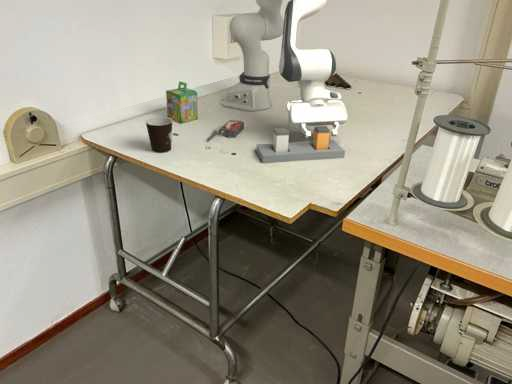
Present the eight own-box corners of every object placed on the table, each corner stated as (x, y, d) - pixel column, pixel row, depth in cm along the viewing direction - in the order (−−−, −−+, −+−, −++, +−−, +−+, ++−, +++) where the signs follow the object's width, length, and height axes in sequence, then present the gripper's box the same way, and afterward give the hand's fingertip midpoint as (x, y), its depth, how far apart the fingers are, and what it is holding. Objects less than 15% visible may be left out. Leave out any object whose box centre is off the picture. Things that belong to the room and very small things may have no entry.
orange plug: (315, 155, 139) (318, 130, 135) (312, 151, 142) (314, 126, 138) (327, 155, 140) (330, 130, 135) (323, 150, 143) (326, 125, 139)
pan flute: (350, 90, 218) (338, 79, 240) (351, 83, 217) (339, 73, 238) (304, 90, 216) (296, 78, 238) (305, 83, 214) (296, 72, 236)
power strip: (262, 163, 132) (263, 156, 131) (256, 151, 141) (256, 144, 140) (344, 157, 138) (345, 150, 137) (332, 146, 147) (333, 139, 145)
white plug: (275, 158, 136) (276, 132, 132) (272, 153, 139) (273, 128, 135) (287, 157, 137) (288, 132, 132) (283, 153, 140) (285, 128, 136)
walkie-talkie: (225, 125, 164) (205, 142, 147) (224, 114, 162) (205, 131, 145) (245, 128, 162) (228, 146, 145) (246, 117, 160) (228, 134, 143)
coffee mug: (162, 156, 135) (159, 127, 130) (143, 150, 139) (140, 121, 134) (185, 145, 144) (183, 117, 139) (167, 140, 148) (164, 113, 143)
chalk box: (167, 118, 168) (164, 82, 161) (184, 113, 174) (182, 78, 167) (181, 124, 163) (178, 86, 156) (198, 119, 169) (197, 82, 162)
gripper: (287, 95, 136) (294, 134, 132) (345, 93, 140) (353, 131, 137) (283, 105, 142) (289, 142, 138) (338, 102, 146) (346, 138, 142)
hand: (321, 136), depth 137 cm, fingers open, 8 cm apart
